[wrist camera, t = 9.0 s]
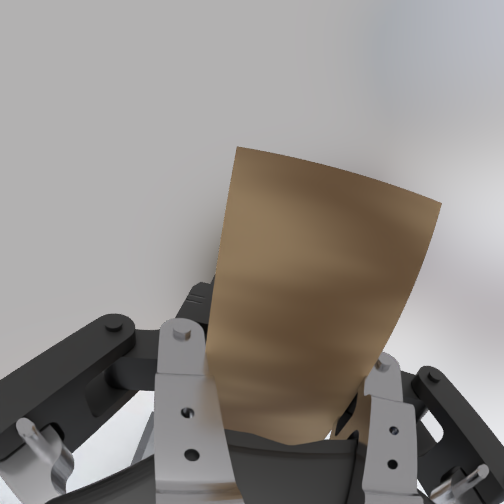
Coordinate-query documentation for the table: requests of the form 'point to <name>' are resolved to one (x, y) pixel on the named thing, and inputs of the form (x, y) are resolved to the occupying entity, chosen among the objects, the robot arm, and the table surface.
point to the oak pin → (307, 290)
